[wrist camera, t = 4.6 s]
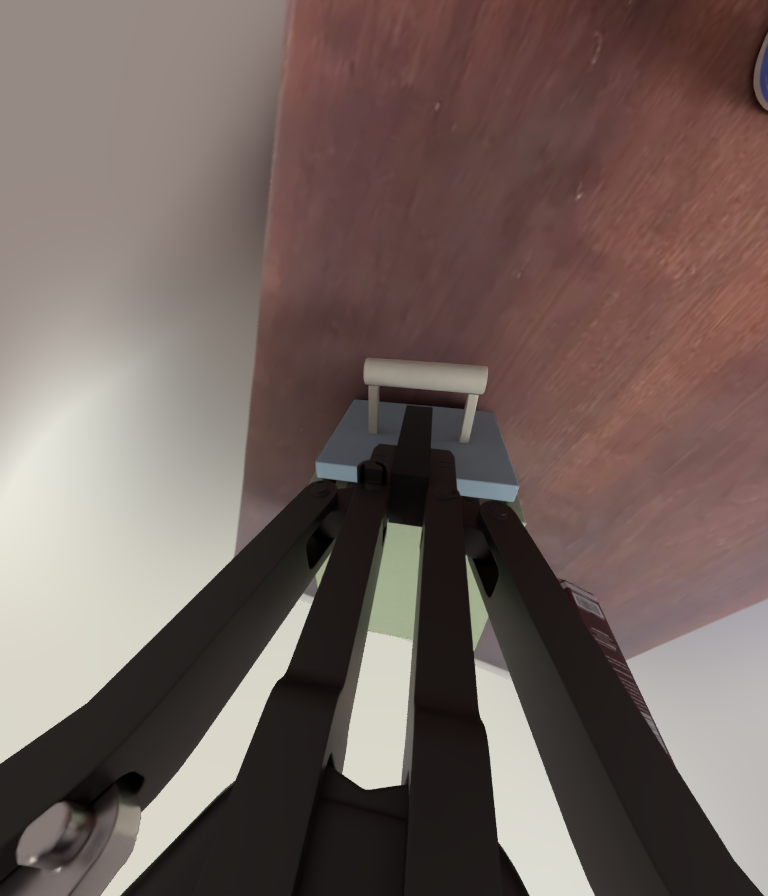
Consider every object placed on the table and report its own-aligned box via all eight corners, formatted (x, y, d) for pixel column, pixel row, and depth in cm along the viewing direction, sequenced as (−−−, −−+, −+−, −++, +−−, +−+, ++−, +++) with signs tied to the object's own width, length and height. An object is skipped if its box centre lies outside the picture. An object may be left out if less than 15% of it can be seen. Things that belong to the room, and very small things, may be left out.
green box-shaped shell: (350, 411, 27) (301, 492, 17) (495, 425, 25) (526, 523, 16) (354, 525, 34) (323, 623, 25) (465, 541, 33) (474, 651, 24)
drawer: (351, 336, 22) (303, 377, 14) (510, 346, 21) (551, 398, 13) (357, 514, 32) (330, 595, 24) (464, 529, 31) (472, 620, 23)
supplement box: (542, 624, 39) (594, 813, 25) (512, 609, 38) (550, 795, 25) (598, 595, 34) (699, 809, 21) (566, 578, 33) (648, 787, 20)
